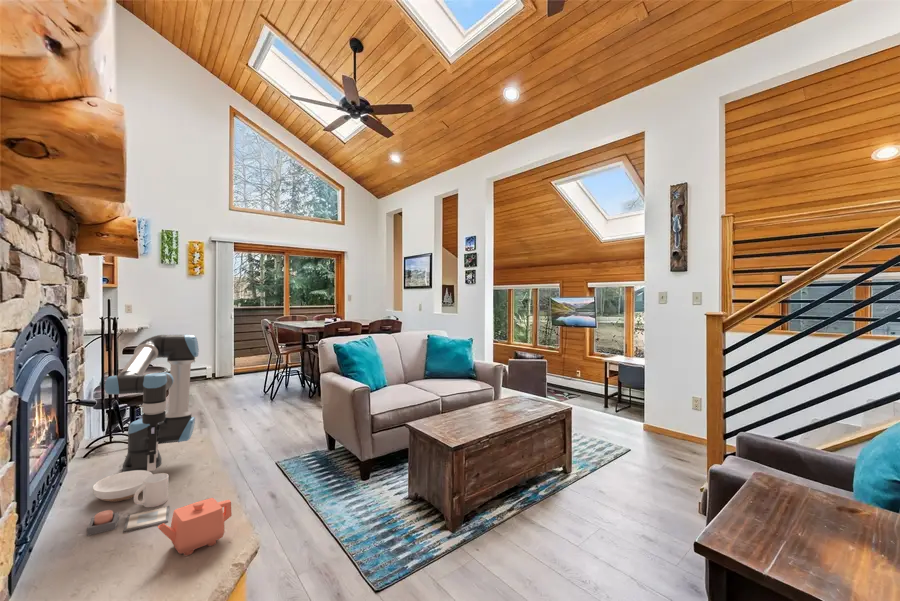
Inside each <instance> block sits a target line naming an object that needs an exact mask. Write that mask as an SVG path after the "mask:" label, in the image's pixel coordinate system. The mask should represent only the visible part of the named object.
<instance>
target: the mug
mask: <svg viewBox="0 0 900 601" xmlns="http://www.w3.org/2000/svg"><path fill="white" fill-rule="evenodd" d="M142 490H143V492H141V491H142ZM140 492H141V493H142V500H139V494H141V493H140ZM168 499H169V474H168V473H164V472H162V473H161V472H160V473H159V472H158V473H153V475H151V476H148V477H146V478H145V479H144V480H143V486H141V487H140V488H139V489H138V490H137V491H136V492H135V495H134V497H133V502H134V504H135V505H139V506H141V505H142V506H143V507H145V508H156V507H158V506H162V505H164V504H165V503H166V502H167V501H168Z"/></svg>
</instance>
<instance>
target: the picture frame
mask: <svg viewBox="0 0 900 601" xmlns="http://www.w3.org/2000/svg"><path fill="white" fill-rule="evenodd" d="M169 514H170V505H166V506H162V507H158V508H154V509H148V510H145V511H143V510H142V511H140V512H135V513H131V514H127V517H126V520H125V523H124V529H123V531H122V532H123V534H124V533H129V532H133V531H136V530H140V529H145V528H149V527H154V526H159V525H161V524H163V523H164V524H167V523H169Z"/></svg>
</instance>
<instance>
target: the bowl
mask: <svg viewBox="0 0 900 601" xmlns="http://www.w3.org/2000/svg"><path fill="white" fill-rule="evenodd" d="M151 475H154V473H153V472H152V471H145V470H135V471H127V472H123V471H121V472H117V473H113V474H111V475H108V476H105V477H104V478H102V479H100V480H97V482H95V483H94V484H93V486H92V492H93V494H94V496H95V498H96V499H99V500H101V501H105V502H106V501H107V502H113V503H114V502H115V503H116V502H122V501H126V500H129V499H133V498H134V495H135V492H136V491H137V490H138V489H139V488H140V487H141V486H143V480H144V479H145V478H146V477H148V476H151ZM141 493H143V490H142V491H141V492H140V493H139V494H141Z"/></svg>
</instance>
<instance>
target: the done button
mask: <svg viewBox="0 0 900 601" xmlns="http://www.w3.org/2000/svg"><path fill="white" fill-rule="evenodd" d="M113 513H114V511H113V509H112V510H111V509H107V510H101V511H100V512H96V514H95V515H94V517H95V518H94V517H93V518H94V526H95V525H100V524H104V523H109V522H112V520H113Z"/></svg>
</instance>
